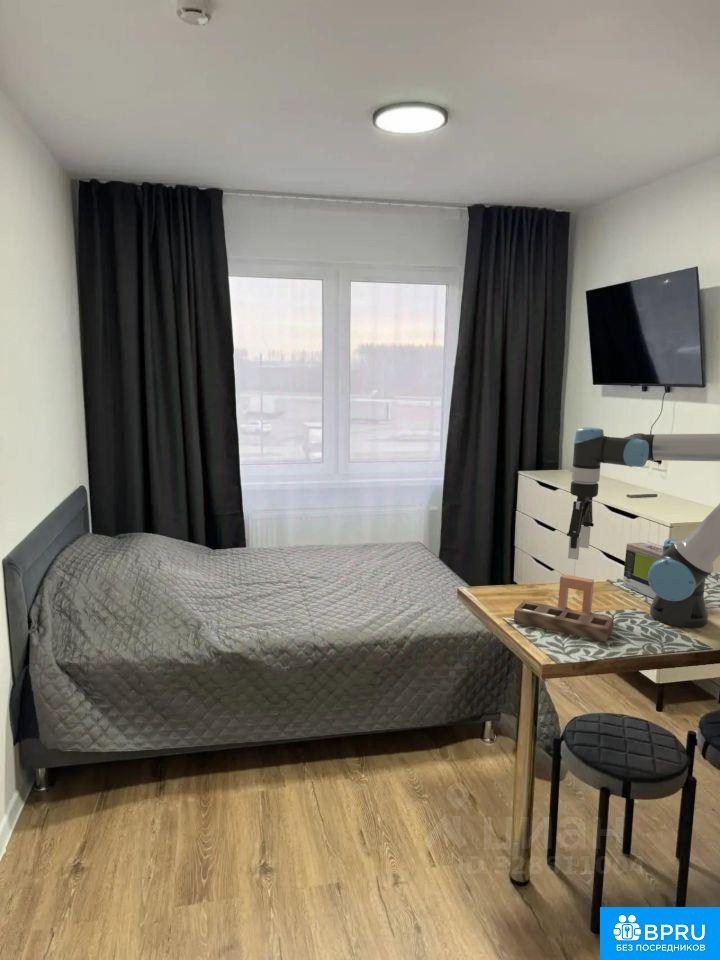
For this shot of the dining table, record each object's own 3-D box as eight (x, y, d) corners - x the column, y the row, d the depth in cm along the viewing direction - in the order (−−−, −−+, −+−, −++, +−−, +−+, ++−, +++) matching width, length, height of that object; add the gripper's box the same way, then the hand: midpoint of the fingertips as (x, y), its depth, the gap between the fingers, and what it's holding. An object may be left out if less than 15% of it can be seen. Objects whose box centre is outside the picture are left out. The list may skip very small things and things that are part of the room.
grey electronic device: (680, 597, 209) (686, 552, 207) (656, 601, 206) (661, 555, 203) (644, 582, 223) (649, 540, 220) (621, 585, 219) (625, 542, 217)
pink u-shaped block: (591, 611, 196) (593, 579, 194) (588, 615, 193) (591, 582, 191) (560, 605, 200) (562, 574, 198) (557, 608, 198) (560, 576, 196)
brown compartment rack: (612, 630, 182) (613, 617, 182) (606, 642, 175) (607, 628, 174) (523, 611, 195) (524, 599, 194) (513, 621, 187) (514, 609, 186)
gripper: (581, 474, 202) (575, 541, 206) (560, 486, 181) (554, 561, 185) (607, 476, 198) (600, 545, 202) (589, 490, 177) (582, 566, 181)
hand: (578, 553), depth 193 cm, fingers open, 13 cm apart
